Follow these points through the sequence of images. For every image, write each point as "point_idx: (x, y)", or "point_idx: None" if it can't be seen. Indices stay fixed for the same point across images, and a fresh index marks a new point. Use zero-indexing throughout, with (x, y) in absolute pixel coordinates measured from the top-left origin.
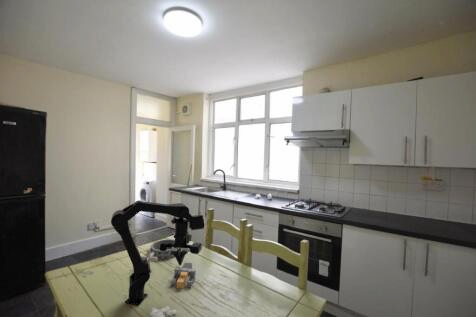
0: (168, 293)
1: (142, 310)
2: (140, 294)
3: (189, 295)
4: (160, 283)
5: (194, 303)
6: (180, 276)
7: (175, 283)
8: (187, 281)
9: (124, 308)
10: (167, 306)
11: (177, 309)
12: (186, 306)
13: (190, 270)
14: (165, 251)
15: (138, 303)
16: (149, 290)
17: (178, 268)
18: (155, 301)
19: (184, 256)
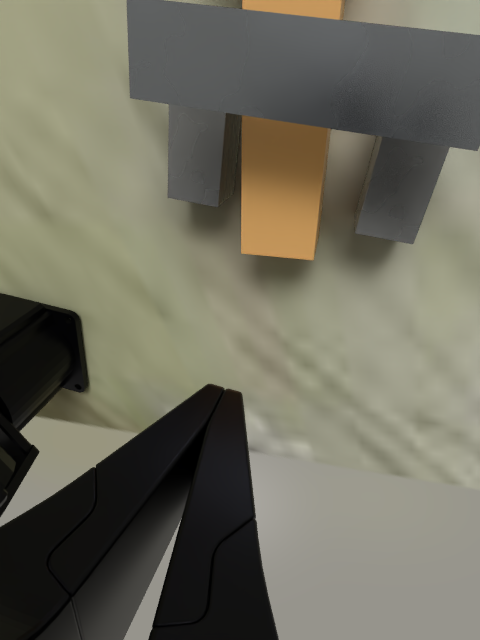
0: (211, 301)
1: (128, 421)
2: (47, 395)
3: (391, 336)
4: (84, 157)
5: (434, 419)
6: (256, 138)
7: (228, 195)
8: (362, 231)
9: None
10: (249, 416)
11: (317, 445)
12: (374, 433)
13: (406, 114)
14: None
15: (78, 390)
16: (58, 258)
17: (177, 51)
18: (159, 369)
19: (257, 550)
